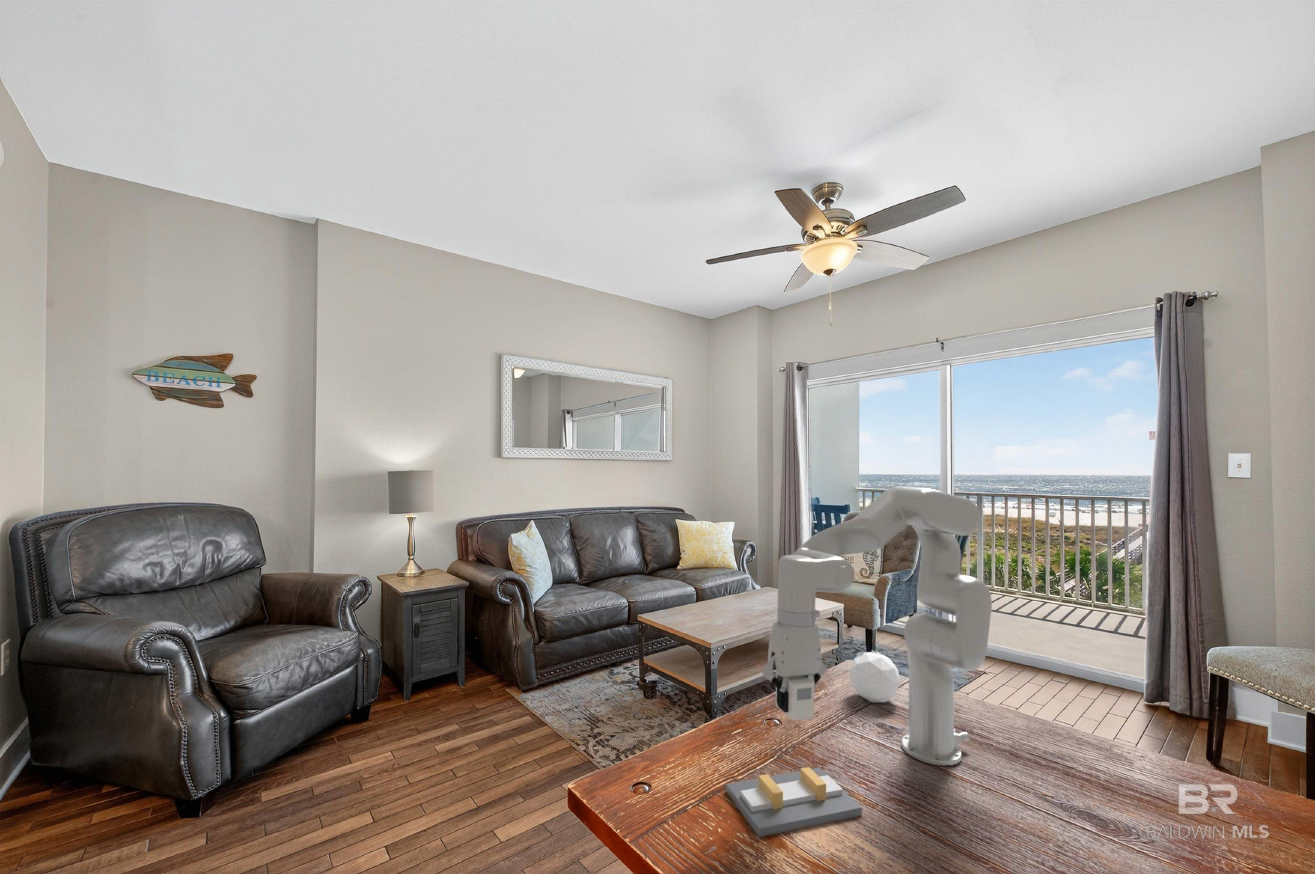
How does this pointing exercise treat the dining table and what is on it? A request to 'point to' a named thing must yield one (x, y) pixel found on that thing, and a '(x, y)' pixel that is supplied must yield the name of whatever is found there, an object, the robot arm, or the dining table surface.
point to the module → (799, 698)
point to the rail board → (791, 801)
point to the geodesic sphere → (874, 676)
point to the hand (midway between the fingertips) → (794, 707)
